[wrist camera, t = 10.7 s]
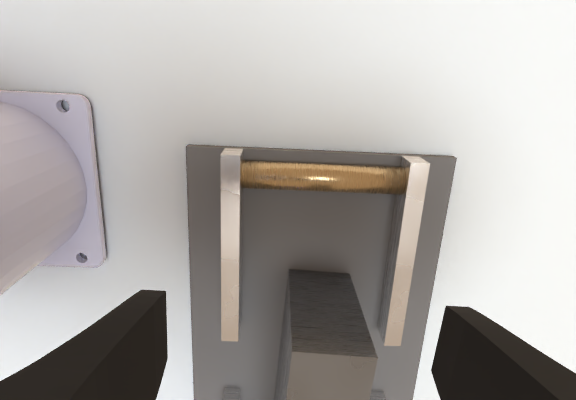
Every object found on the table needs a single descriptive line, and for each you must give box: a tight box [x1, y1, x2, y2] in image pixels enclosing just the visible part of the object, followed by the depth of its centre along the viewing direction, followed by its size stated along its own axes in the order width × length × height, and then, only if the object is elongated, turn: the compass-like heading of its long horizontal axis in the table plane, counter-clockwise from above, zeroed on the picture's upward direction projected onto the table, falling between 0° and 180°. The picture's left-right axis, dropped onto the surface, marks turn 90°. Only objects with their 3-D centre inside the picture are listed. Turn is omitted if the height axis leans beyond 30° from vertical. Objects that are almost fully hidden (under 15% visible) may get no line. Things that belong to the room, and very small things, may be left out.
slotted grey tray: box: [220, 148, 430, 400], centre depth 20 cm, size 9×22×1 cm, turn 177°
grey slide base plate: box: [186, 145, 457, 400], centre depth 21 cm, size 12×22×1 cm, turn 177°
